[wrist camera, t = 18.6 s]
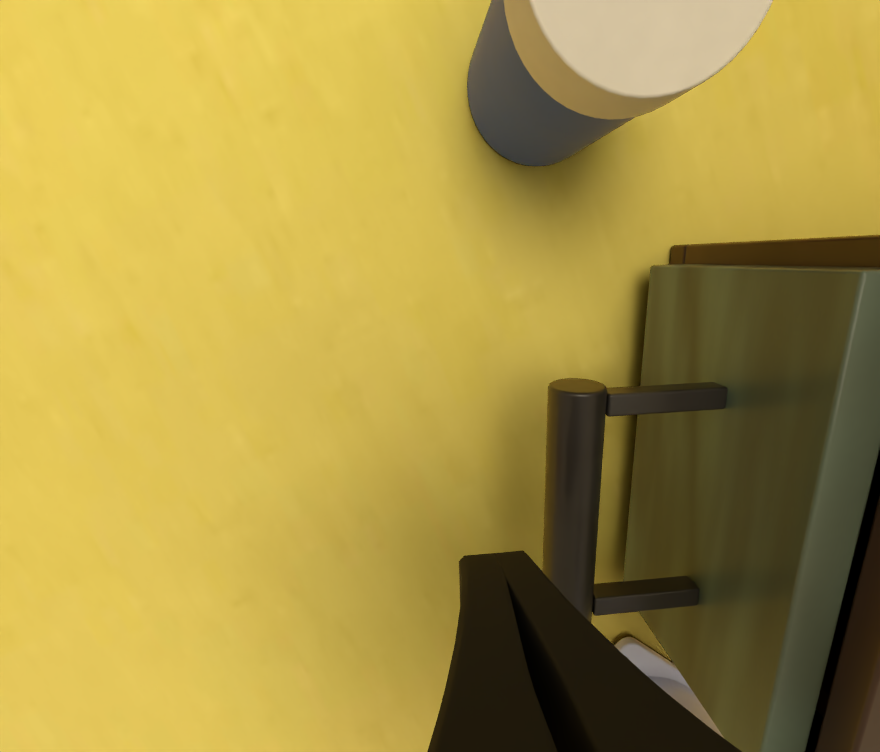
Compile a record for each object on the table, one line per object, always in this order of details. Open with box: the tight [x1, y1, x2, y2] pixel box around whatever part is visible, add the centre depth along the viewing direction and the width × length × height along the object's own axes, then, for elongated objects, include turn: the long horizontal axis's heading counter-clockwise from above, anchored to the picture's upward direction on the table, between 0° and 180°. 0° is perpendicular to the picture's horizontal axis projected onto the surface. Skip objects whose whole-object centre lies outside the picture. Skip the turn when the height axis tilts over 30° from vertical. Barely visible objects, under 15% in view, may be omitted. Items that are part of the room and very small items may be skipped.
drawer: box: [542, 264, 880, 752], centre depth 13 cm, size 18×12×7 cm
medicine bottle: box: [467, 0, 773, 166], centre depth 10 cm, size 5×5×6 cm
